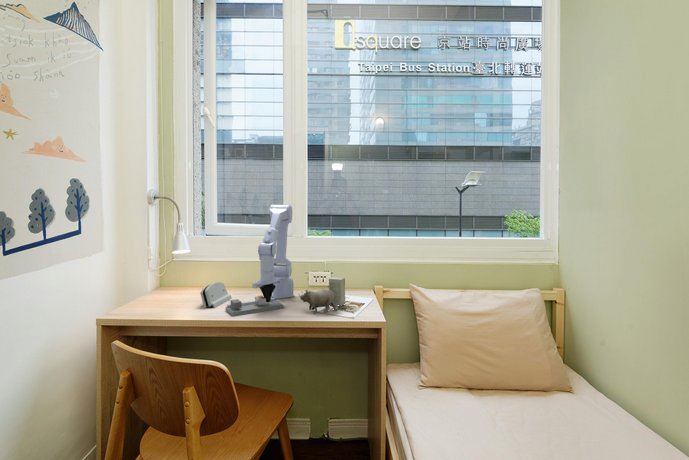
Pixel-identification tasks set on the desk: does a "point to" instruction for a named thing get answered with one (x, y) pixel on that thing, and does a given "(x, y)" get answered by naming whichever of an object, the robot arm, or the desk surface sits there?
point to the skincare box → (338, 290)
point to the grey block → (260, 300)
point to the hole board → (251, 307)
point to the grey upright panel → (214, 295)
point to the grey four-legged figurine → (319, 299)
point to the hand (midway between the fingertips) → (267, 301)
